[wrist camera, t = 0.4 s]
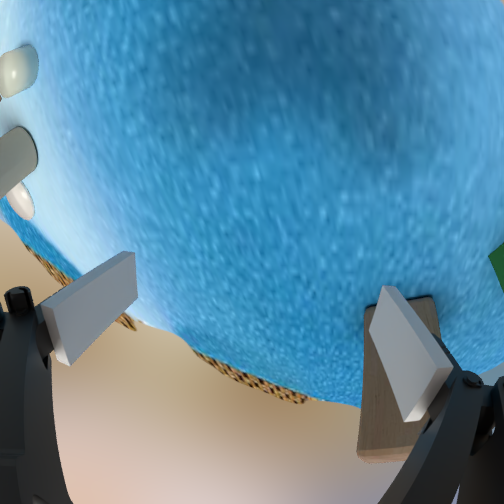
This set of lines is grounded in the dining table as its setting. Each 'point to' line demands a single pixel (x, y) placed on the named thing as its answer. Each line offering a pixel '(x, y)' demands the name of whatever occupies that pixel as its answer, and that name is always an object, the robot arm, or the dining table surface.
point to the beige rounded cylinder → (18, 70)
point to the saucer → (21, 201)
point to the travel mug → (15, 158)
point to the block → (387, 399)
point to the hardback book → (498, 263)
